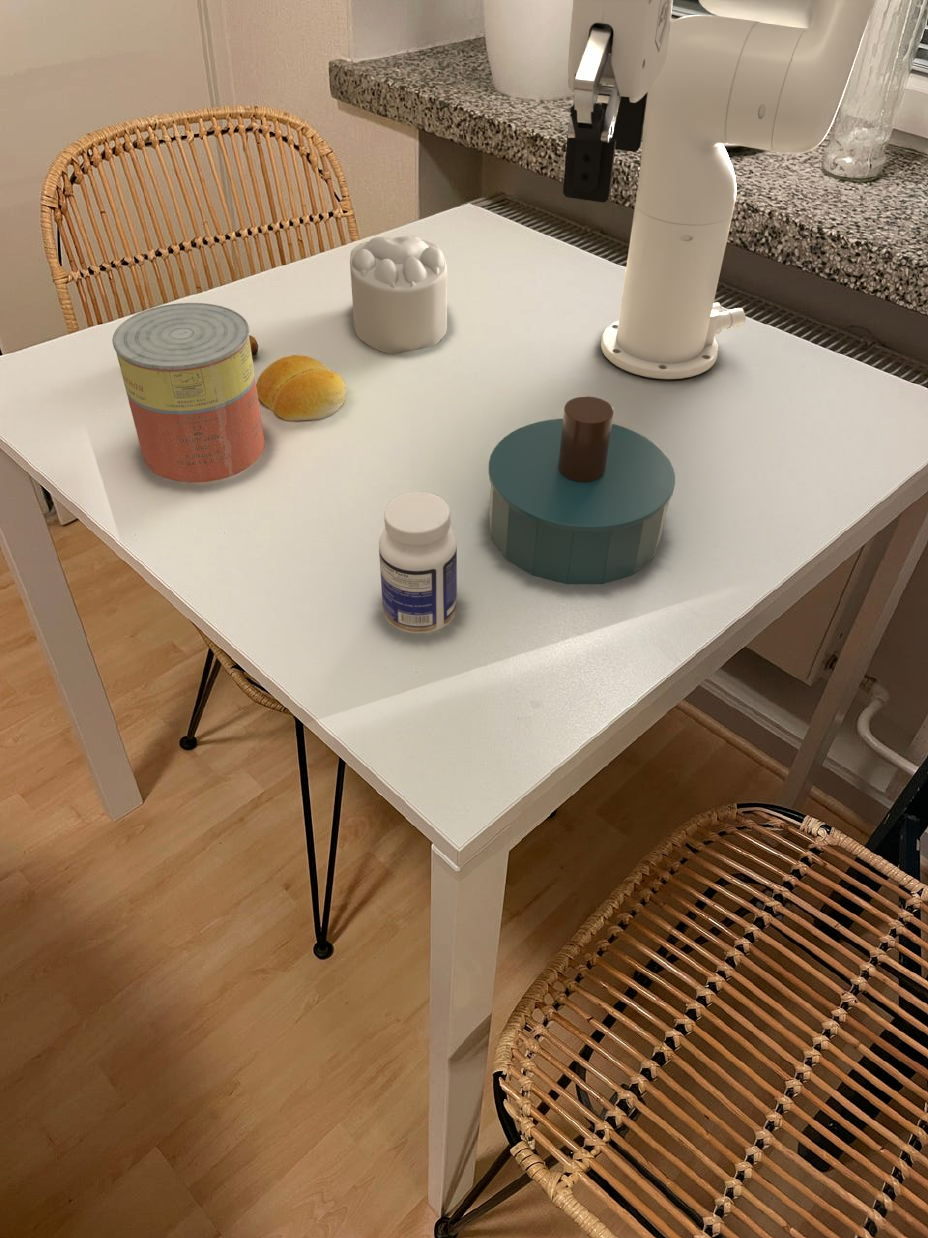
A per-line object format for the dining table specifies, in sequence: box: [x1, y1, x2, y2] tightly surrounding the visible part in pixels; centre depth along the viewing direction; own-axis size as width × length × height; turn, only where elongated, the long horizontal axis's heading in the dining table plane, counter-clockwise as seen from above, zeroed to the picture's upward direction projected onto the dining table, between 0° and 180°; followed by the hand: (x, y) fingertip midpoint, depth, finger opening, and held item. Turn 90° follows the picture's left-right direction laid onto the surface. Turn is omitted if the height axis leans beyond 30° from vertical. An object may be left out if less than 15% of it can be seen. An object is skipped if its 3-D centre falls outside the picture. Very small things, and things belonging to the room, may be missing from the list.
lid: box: [488, 396, 676, 532], centre depth 75 cm, size 15×15×7 cm
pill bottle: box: [378, 491, 458, 634], centre depth 71 cm, size 6×6×10 cm
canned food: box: [112, 302, 265, 483], centre depth 85 cm, size 11×11×12 cm
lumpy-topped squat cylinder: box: [349, 235, 448, 355], centre depth 104 cm, size 10×13×9 cm
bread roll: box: [256, 354, 347, 422], centre depth 94 cm, size 8×9×4 cm
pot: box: [488, 483, 669, 585], centre depth 79 cm, size 14×14×6 cm
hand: (603, 171), depth 69 cm, fingers open, 9 cm apart
